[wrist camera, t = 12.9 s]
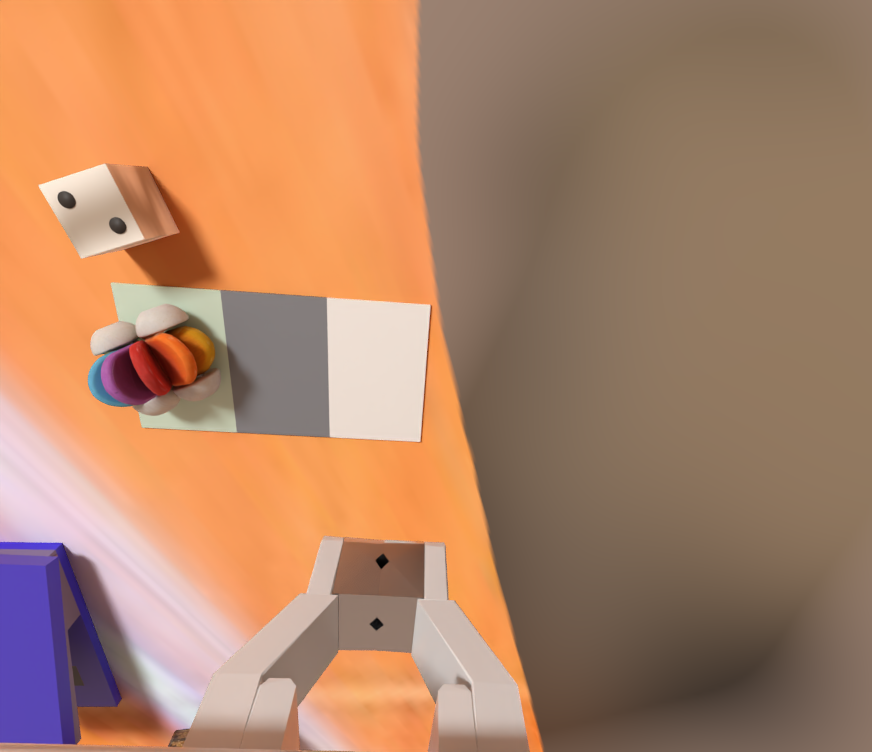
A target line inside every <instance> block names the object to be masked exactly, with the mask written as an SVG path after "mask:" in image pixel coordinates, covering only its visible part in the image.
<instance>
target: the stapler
mask: <svg viewBox="0 0 872 752" xmlns="http://www.w3.org/2000/svg"><path fill="white" fill-rule="evenodd" d="M121 699H122V698H121V696H120V693H119V690H118V688H117V685H116V683H115V680H114V677H113V675H112V672H111V670H110V667H109V664H108V662H107V659H106V656H105V654H104V651H103V649H102V646H101V643H100V641H99V638H98V636H97V633H96V630H95V628H94V625H93V622H92V620H91V617H90V615H89V612H88V609H87V607H86V604H85V602H84V599H83V596H82V594H81V591H80V588H79V586H78V583H77V581H76V578H75V575H74V573H73V570H72V568H71V565H70V562H69V560H68V557H67V554H66V552H65V549H64V547H63V544H62V543H24V542H0V743H32V744H72V745H77V743H78V742H79V741H80V739H81V734H80V726H79V718H78V710H77V707H117V706H118V704H119V702H120V701H121Z"/></svg>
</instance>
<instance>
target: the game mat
mask: <svg viewBox="0 0 872 752" xmlns="http://www.w3.org/2000/svg"><path fill="white" fill-rule="evenodd" d="M111 287H112V292H113V296H114V301H115V305H116V310H117V315H118V319H119V321H124V322H129V323H132V324H134V325H136V320H137V318H138V316H139V314H140V313H141V312H143V311H146V310H148V309H151V308H154V307H157V306H160V305H162V304H170V305H174V306H176V307H178V308H180V309H182V310H183V311H184V312H185V313H186V314H187V315H188V317H189V319H188V320H186V321H184V322H182V323H180V324H178V325H176V326H173V327H171V328H169V329H167V330H166V331H168V330H172V329H175V328H178V327H181V326H188V327H193V328H196V329H198V330H200V331H202V332H203V333H204V334H206V335H207V336H208V337H209V338H210V339H211V341H212V342H213V344H214V347H215V358H214V361H213V363H212V365H211V366H210V368H209V369H212V368H218V369H219V370H220V373H221V383H220V386H219V388H218V390H217V391H216V392H215V393H214V394H212V395H211V396H209V397H207V398H205V399H203V400H200V401H188V400H185V399H182V398H181V399H180V401H179V403H178V405H177V406H176V407H174V408H173V409H171V410H170V411H168V412H166V413H164V414H161V415H158V416H150V415H145V414H142V413H140V412H139V416H140V421H141V426H142V428H161V429H181V430H200V431H219V432H239V433H258V434H277V435H296V436H316V437H335V438H354V439H374V440H393V441H412V442H420V439H421V426H422V413H423V399H424V386H425V373H426V359H427V346H428V332H429V319H430V306H431V305H427V304H413V303H399V302H384V301H370V300H356V299H341V298H327V297H313V296H299V295H284V294H270V293H256V292H241V291H227V290H213V289H199V288H184V287H170V286H156V285H141V284H127V283H113V282H112V283H111ZM166 331H165V332H166ZM138 340H145V339H142V338H140V337H139V338H138Z"/></svg>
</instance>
